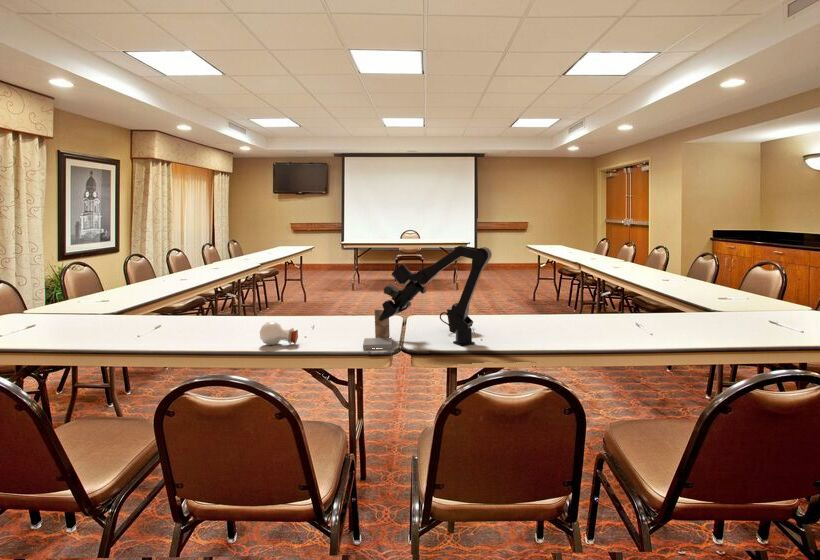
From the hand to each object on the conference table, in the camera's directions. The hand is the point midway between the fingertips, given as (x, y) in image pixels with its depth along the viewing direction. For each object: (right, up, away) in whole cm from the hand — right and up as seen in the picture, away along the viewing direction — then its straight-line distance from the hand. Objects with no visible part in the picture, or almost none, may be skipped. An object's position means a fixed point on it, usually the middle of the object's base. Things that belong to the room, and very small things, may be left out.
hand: (384, 318), depth 220 cm
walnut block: (-1, -9, +1) cm, 9 cm away
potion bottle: (-42, -11, -5) cm, 44 cm away
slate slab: (-2, -10, -12) cm, 16 cm away
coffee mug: (+30, -7, +13) cm, 33 cm away
